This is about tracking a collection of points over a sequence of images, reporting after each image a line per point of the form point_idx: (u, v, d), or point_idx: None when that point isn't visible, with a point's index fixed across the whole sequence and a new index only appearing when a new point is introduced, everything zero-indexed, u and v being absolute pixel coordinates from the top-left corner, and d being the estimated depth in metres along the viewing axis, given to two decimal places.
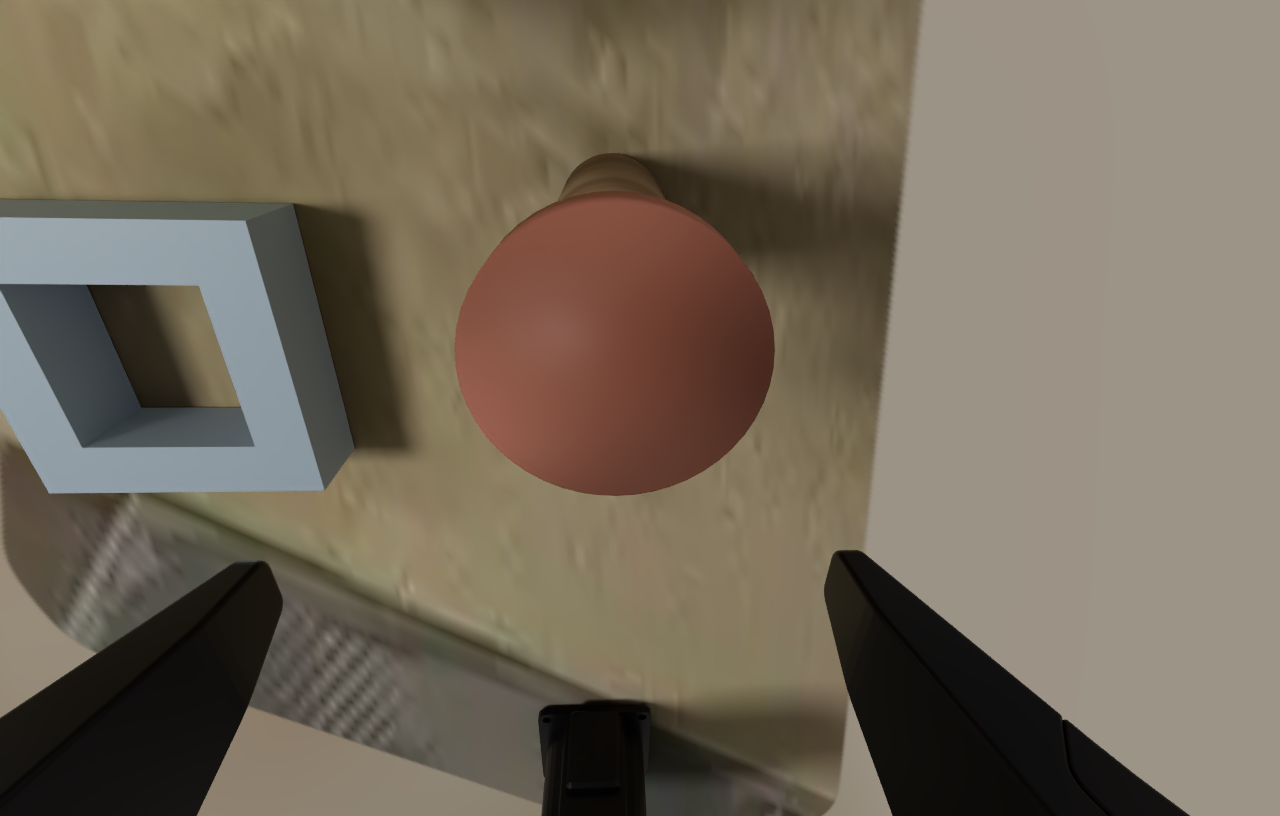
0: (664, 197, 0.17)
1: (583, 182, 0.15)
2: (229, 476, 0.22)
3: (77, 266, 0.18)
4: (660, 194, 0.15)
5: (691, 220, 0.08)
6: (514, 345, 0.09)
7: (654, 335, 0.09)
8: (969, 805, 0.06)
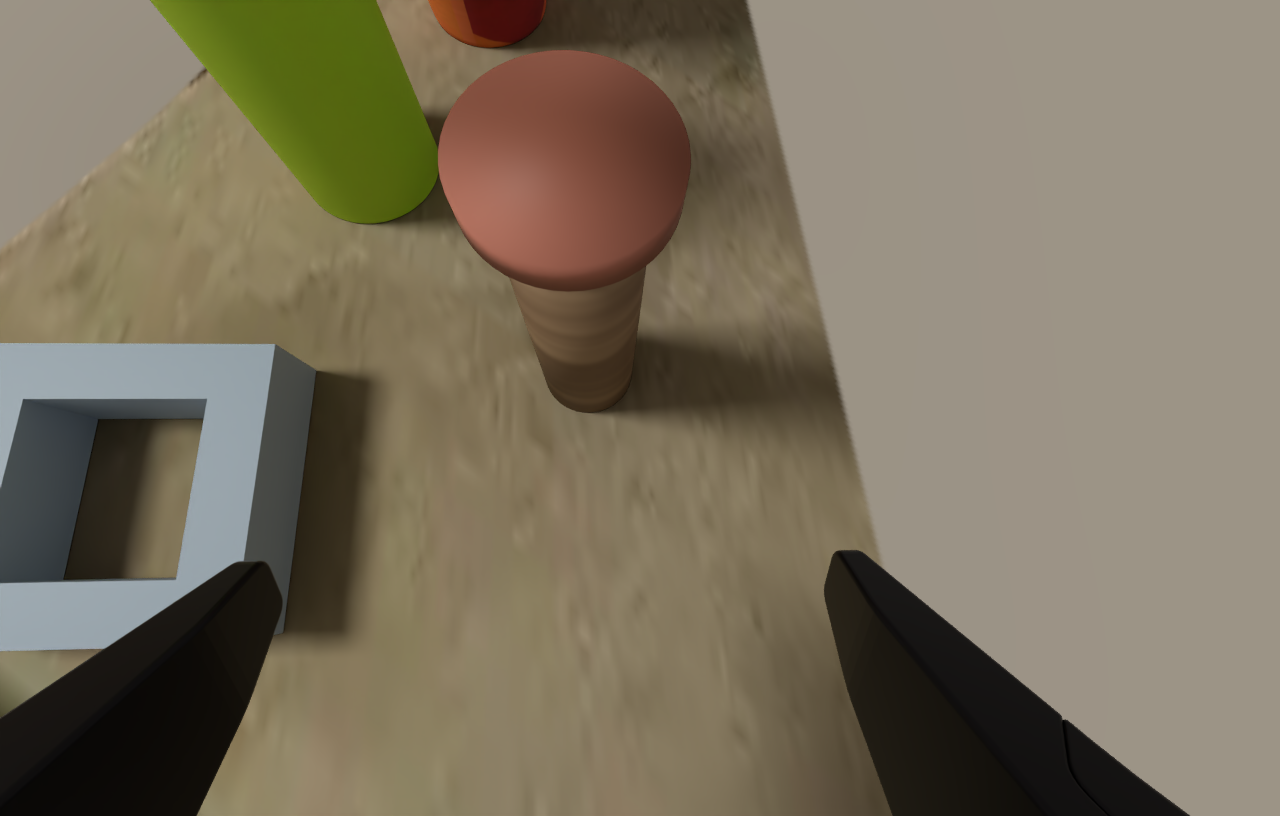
0: None
1: None
2: (125, 624, 0.18)
3: (107, 382, 0.20)
4: None
5: (617, 62, 0.12)
6: (486, 134, 0.11)
7: (595, 129, 0.11)
8: (969, 805, 0.06)
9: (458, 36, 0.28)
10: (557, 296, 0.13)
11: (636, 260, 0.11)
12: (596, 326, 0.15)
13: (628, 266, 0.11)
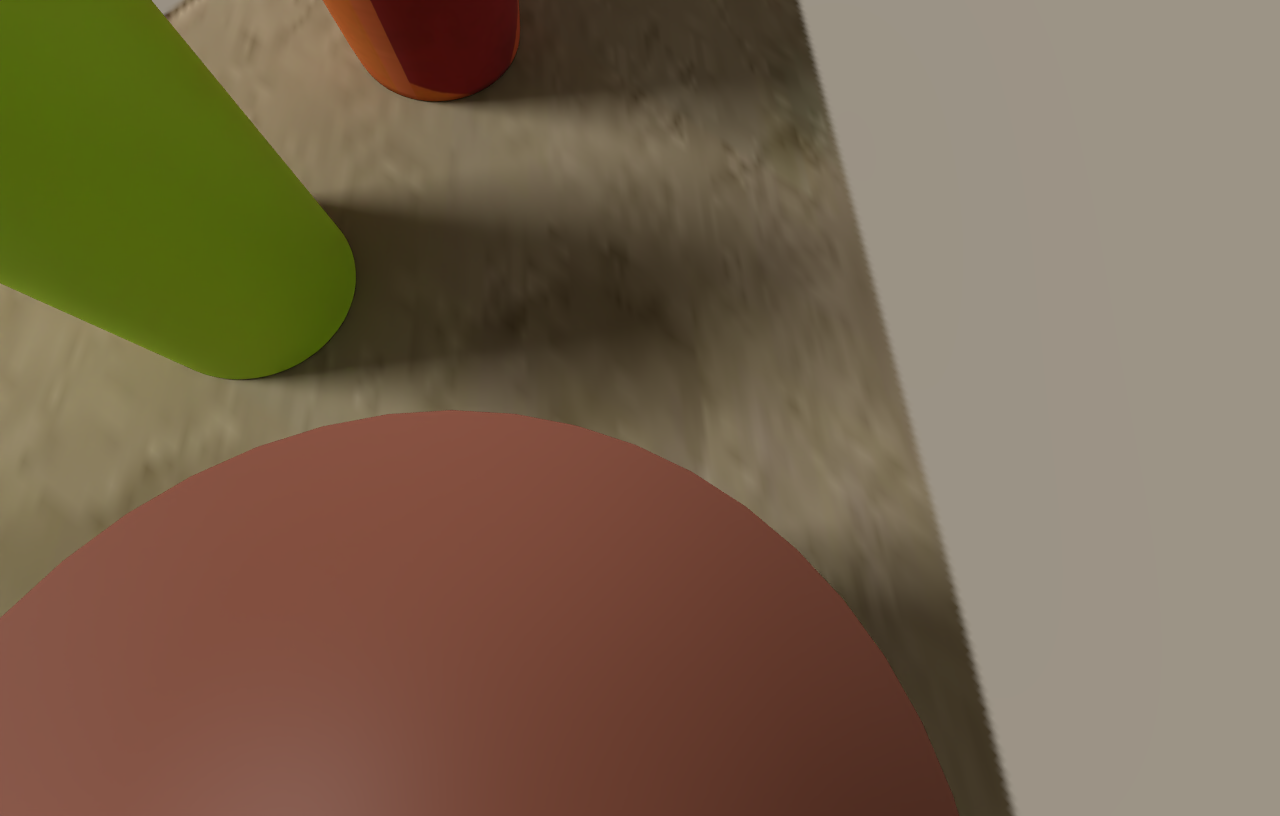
0: None
1: None
2: None
3: None
4: None
5: (650, 454, 0.03)
6: None
7: None
8: None
9: (390, 85, 0.19)
10: None
11: None
12: None
13: None
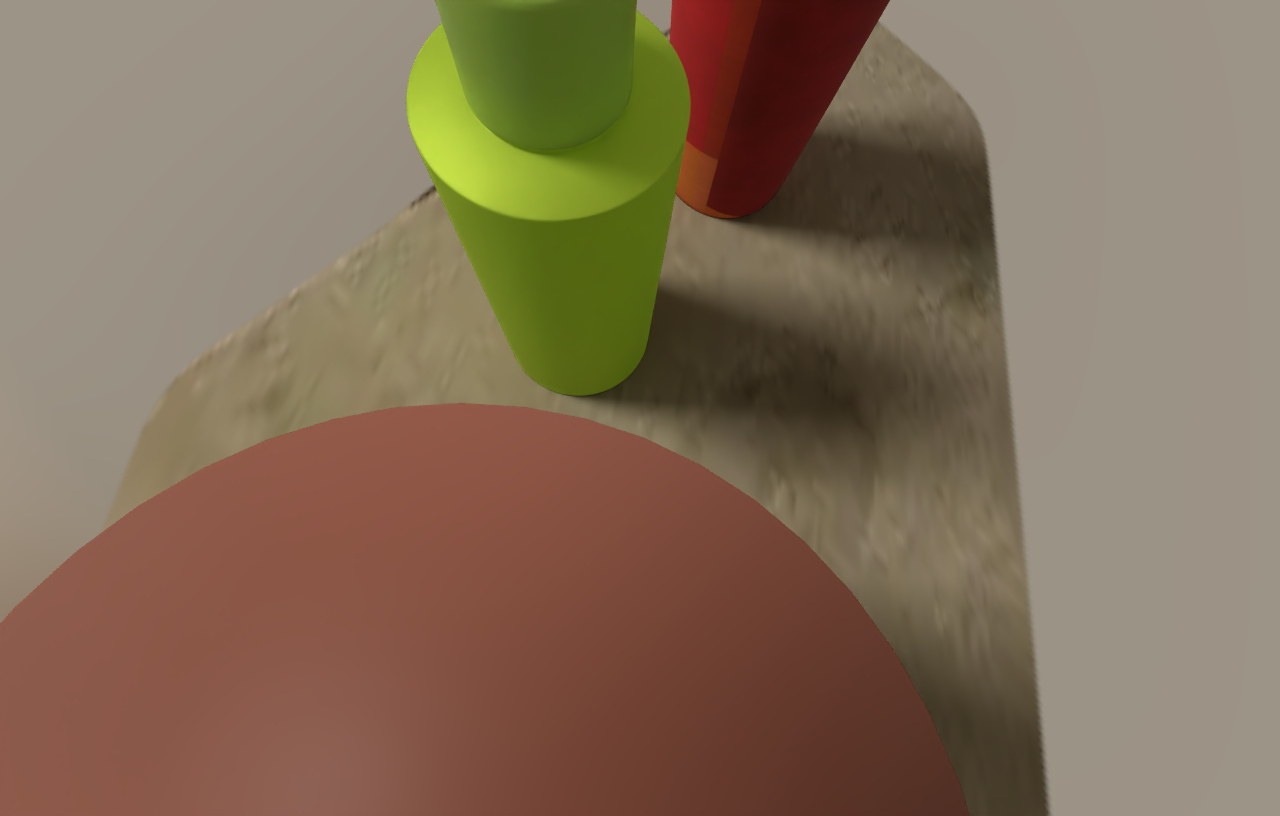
0: None
1: None
2: None
3: None
4: None
5: (659, 448, 0.03)
6: None
7: None
8: None
9: (688, 202, 0.26)
10: None
11: None
12: None
13: None
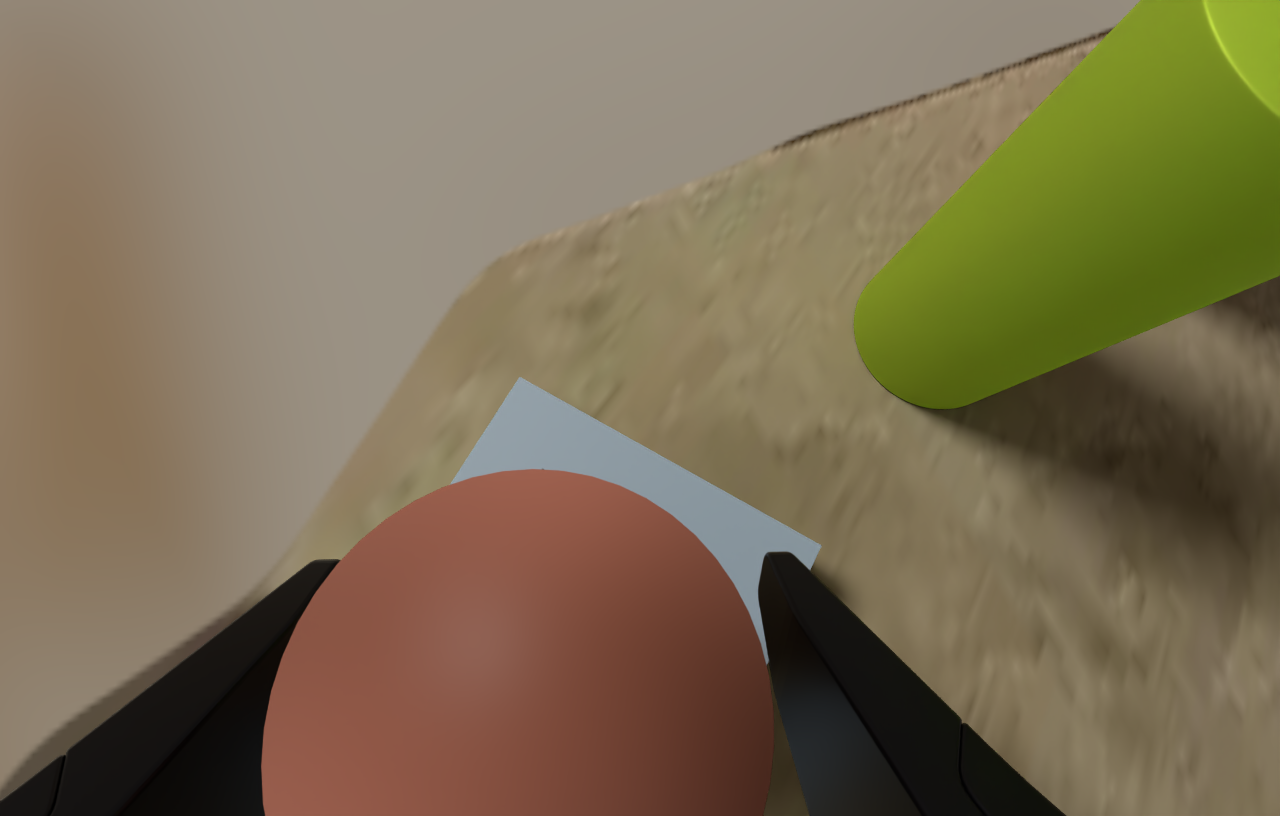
0: None
1: None
2: None
3: None
4: None
5: (627, 489, 0.06)
6: (366, 682, 0.06)
7: (583, 658, 0.06)
8: (868, 809, 0.06)
9: None
10: None
11: None
12: None
13: None
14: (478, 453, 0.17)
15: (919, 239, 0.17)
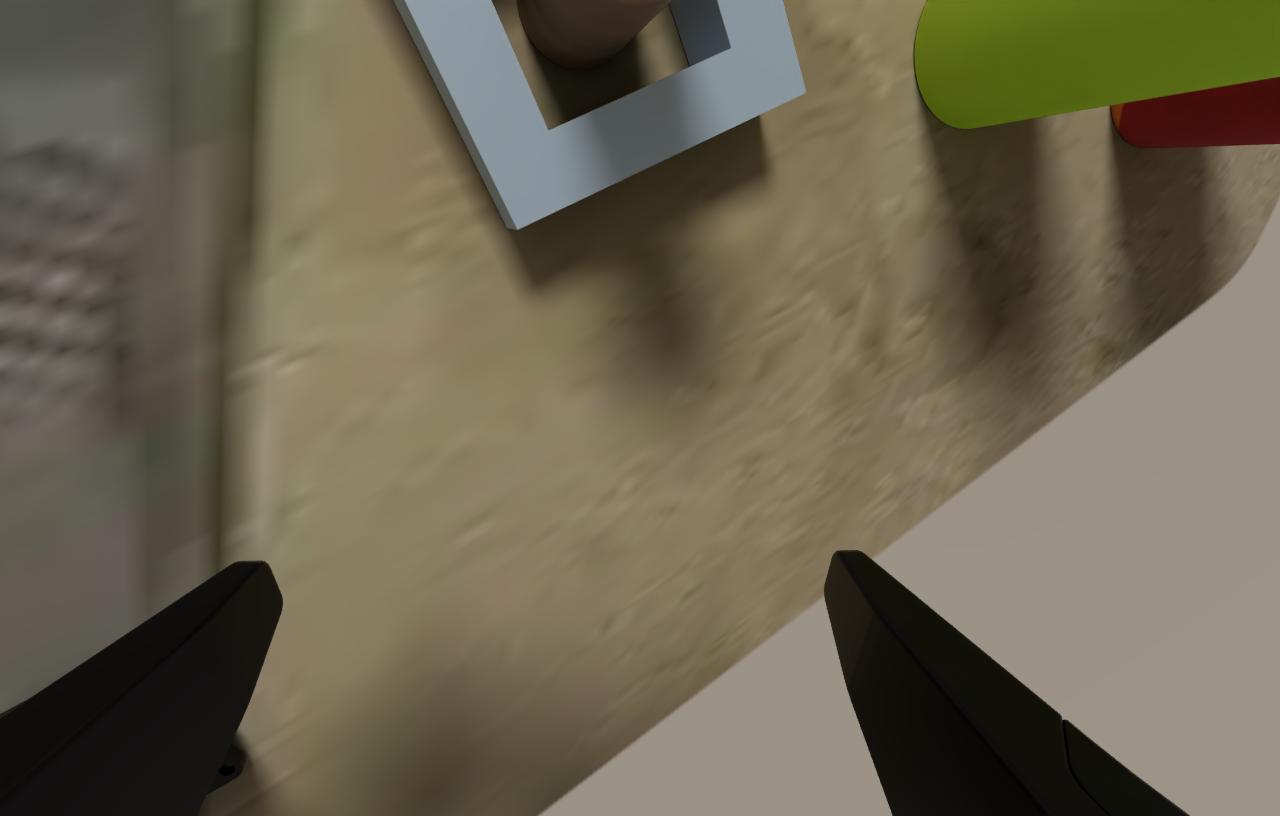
0: None
1: None
2: (482, 100, 0.15)
3: None
4: None
5: None
6: None
7: None
8: (969, 805, 0.06)
9: None
10: None
11: None
12: None
13: None
14: None
15: None
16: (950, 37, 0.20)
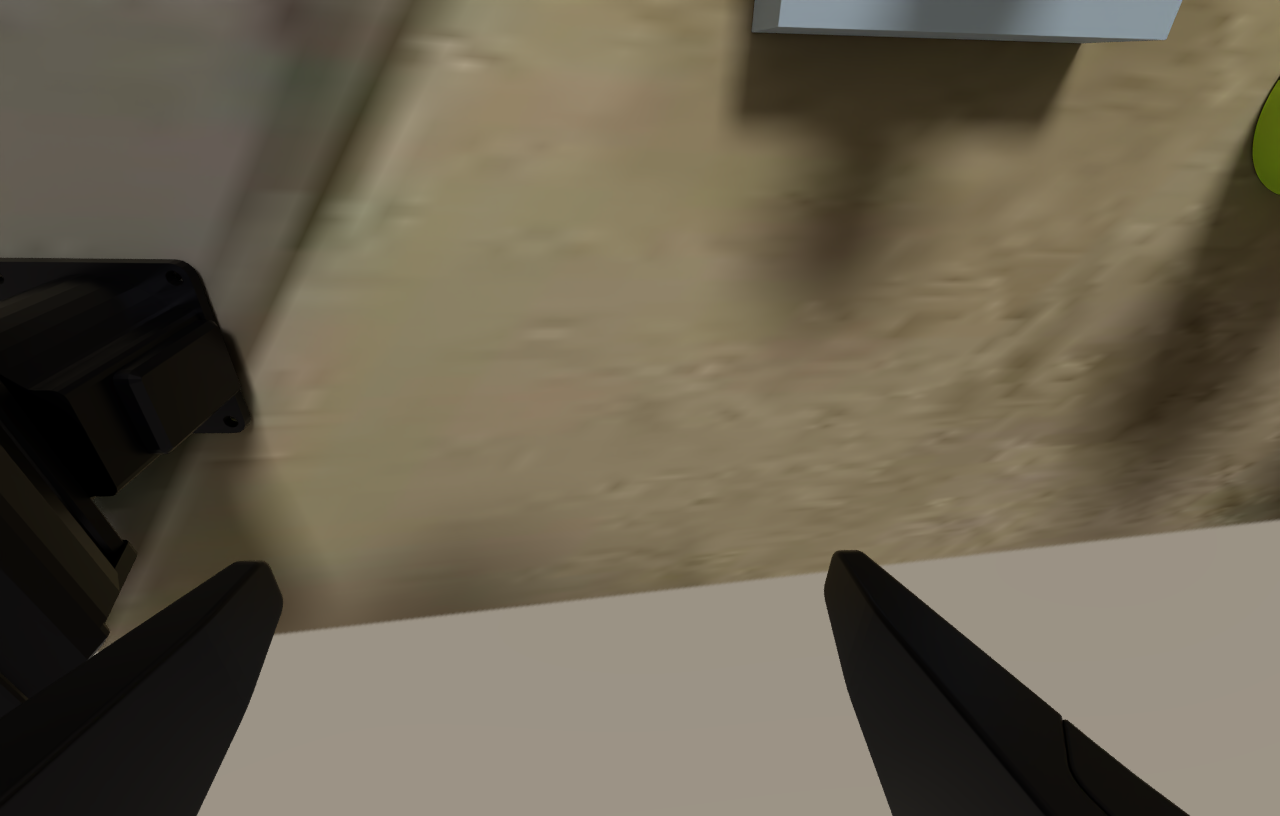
0: None
1: None
2: None
3: None
4: None
5: None
6: None
7: None
8: (969, 805, 0.06)
9: None
10: None
11: None
12: None
13: None
14: None
15: None
16: None
